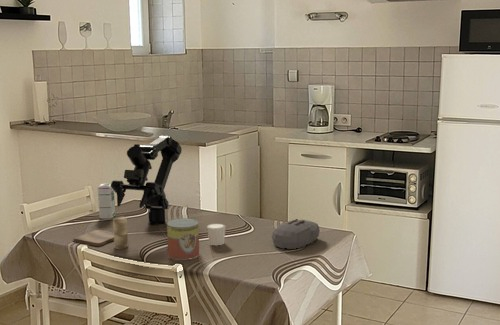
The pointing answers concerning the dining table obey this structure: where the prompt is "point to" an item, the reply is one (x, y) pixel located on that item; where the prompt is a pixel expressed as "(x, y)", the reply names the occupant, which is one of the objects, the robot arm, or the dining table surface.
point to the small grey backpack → (295, 234)
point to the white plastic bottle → (106, 201)
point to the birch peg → (120, 232)
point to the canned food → (183, 238)
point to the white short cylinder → (216, 234)
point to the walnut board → (96, 238)
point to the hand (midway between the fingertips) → (129, 206)
